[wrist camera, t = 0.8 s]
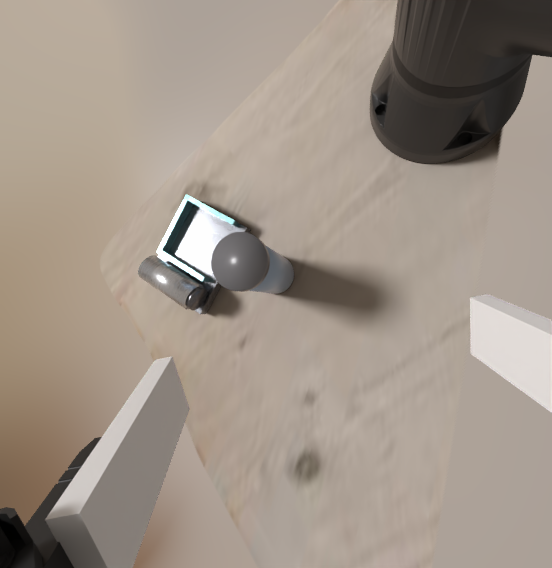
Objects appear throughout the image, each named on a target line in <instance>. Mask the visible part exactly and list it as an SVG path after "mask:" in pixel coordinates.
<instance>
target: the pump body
mask: <svg viewBox="0 0 552 568" xmlns="http://www.w3.org/2000/svg"><path fill="white" fill-rule="evenodd" d="M211 267H212V272H213V275H214V277H215V278H216V280H217V281H218V283H219V284H220V285H222V286H223V287H225V288H226V289H229V290H232V291H241V292H243V291H257V292H265V293H273V294H277V293H281V292H284V291H285V290H287V289H288V288H289V287H290V285H291V284H292V282H293V279H294V269H293V266H292V264H291V263H290V261H289V260H287V259H286V258H285V257H283V256H281V255H280V254H278V253H277V252H275V251H273V250H272V249H270V248H269V247H267V246H265V245H264V243H263V242H262V241H261V240H260V239H258V238H257V237H255V236H253V235H252V234H250V233H246V232H234V233H231V234H228V235H227V236H225V237H224V238H222V239H221V240H220V241H219V243H218V244H217V245H216V247H215V249H214V251H213V254H212V258H211Z"/></svg>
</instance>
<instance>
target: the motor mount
mask: <svg viewBox="0 0 552 568" xmlns="http://www.w3.org/2000/svg"><path fill="white" fill-rule="evenodd" d="M250 231H251V230H250V229H248V228H247V227H245V226H243V225H241V224H239V223H238V222H236V221H235V220H233V219H231V218H229V217H227V216H225V215H224V214H222V213H220V212H218V211H216V210H214V209H213V208H211V207H209V206H207V205H205V204H203V203H201V202H200V201H198V200H196V199H194V198H192V197H190V196H188V195H187V194H186V196H185V198H184V199H183V201H182V203H181V205H180V207H179V209H178V211H177V213H176V215H175V217H174V219H173V221H172V223H171V225H170V227H169V229H168V231H167V233H166V235H165V236H164V238H163V240H162V242H161V244H160V246H159V248H158V250H157V253H158V254H159V256H158V257H157V256H150V257H148V258H146V259H145V260H144V261H143V262H142V263H141V265H140V267H139V270H138V274H139V277H140V278H142V279H143V280H144V281H146V282H147V283H149V284H150V285H152V286H153V287H155V288H156V289H158V290H159V291H161V292H162V293H163V294H165V295H166V296H168V297H169V298H171V299H172V300H174V301H175V302H177V303H178V304H179V305H181V306H182V307H184V308H185V309H191V310H195V311H196V312H198V313H199V314H206V313H207V311H208V309H209V307H210V305H211V304H212V302H213V300H214V298H215V296H216V294H217V292H218V291H219V289H220V287H221V285H220V284H219V283H218V281H217V280H216V278H215V277H214V275H213V272H212V267H211V258H212V254H213V251H214V249H215V247H216V245H217V244H218V243H219V241H220V240H221V239H222V238H224V237H225V236H227V235H228V234H231V233H234V232H246V233H250Z"/></svg>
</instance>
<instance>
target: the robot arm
mask: <svg viewBox="0 0 552 568" xmlns="http://www.w3.org/2000/svg"><path fill="white" fill-rule="evenodd" d="M532 55H540V56H547V57H552V0H398V3H397V11H396V20H395V28H394V37H393V41H392V43H391V45H390V47H389V49H388V51H387V53H386V55H385V57H384V59H383V61H382V63H381V65H380V67H379V69H378V71H377V73H376V75H375V78H374V81H373V85H372V89H371V96H370V119H371V124H372V127H373V129H374V132H375V134H376V136H377V137H378V139H379V140H380V141H381V143H382V144H383V145H384V146H385V147H386V148H387V149H388V150H390V151H391V152H393V153H394V154H396V155H398V156H399V157H402V158H404V159H407V160H410V161H414V162H419V163H442V162H448V161H453V160H456V159H459V158H462V157H464V156H467V155H469V154H471V153H473V152H475V151H477V150H478V149H480V148H481V147H483V146H484V145H485V144H487V143H488V142H489V141H490V140H491V139H493V138H494V137H495V136H496V135H497V133H498V132H499V131H500V130H501V129H502V127H503V126H504V125H505V124H506V122H507V121H508V120H509V119H510V117H511V116H512V114H513V113H514V111H515V110H516V108H517V106H518V104H519V102H520V100H521V97H522V94H523V92H524V88H525V83H526V80H527V75H528V71H529V67H530V62H531V58H532ZM470 331H471V354H472V355H473V356H475V357H476V358H478V359H479V360H480V361H482V362H483V363H484V364H486V365H487V366H488V367H490V368H491V369H493V370H494V371H495V372H497V373H498V374H499V375H501V376H502V377H503V378H505V379H506V380H508V381H509V382H510V383H512V384H513V385H514V386H516V387H517V388H518V389H520V390H521V391H523V392H524V393H525V394H527V395H528V396H530V397H531V398H532V399H534V400H535V401H536V402H538V403H539V404H540V405H542V406H543V407H545V408H546V409H547V410H549V411H550V412H551V413H552V320H550V319H548V318H545V317H543V316H541V315H538V314H536V313H533V312H531V311H528V310H526V309H523V308H521V307H519V306H516V305H513V304H511V303H509V302H506V301H504V300H501V299H499V298H496V297H494V296H491V295H489V294H486V295H480V296H475V297H470ZM189 409H190V408H189V405H188V402H187V399H186V396H185V393H184V390H183V387H182V384H181V381H180V378H179V375H178V372H177V369H176V366H175V363H174V360H173V357H167V358H162V359H157V360H155V361H154V362H153V364H152V365H151V367H150V368H149V370H148V371H147V372H146V374H145V376H144V377H143V378H142V380H141V381H140V383H139V384H138V385H137V387H136V389H135V390H134V391H133V393H132V394H131V396H130V397H129V399H128V400H127V401H126V403H125V404H124V406H123V407H122V409H121V410H120V412H119V413H118V414H117V416H116V417H115V419H114V420H113V422H112V423H111V425H110V426H109V428H108V429H107V430H106V432H105V433H104V435H103V436H102V437H99V438H95V439H94V440H93V441H91V442H90V443H89V444H88V445H87V446H86V447H85V448H84V449H83V450H81V452H79V454H78V455H77V456H76V458H75V459H74V460H73V462H72V463H71V464H70V466H69V467H68V470H67V471H65V473H64V474H63V475H62V477H61V478H60V479H59V483H58V484H56V485H55V486H54V488H53V489H52V490H51V492H50V493H49V494H48V496H47V497H46V498H45V500H44V501H43V502H42V504H41V505H40V506H39V508H38V509H37V511H36V512H35V513H34V515H33V516H32V517H31V519H30V520H29V521H28V523H27V524H26V525H25V526H24V524H23V523H22V521H21V519H20V518H19V516H18V514H17V512H16V511H15V509H13V508H7V507H6V508H2V509H0V568H133V565H134V562H135V559H136V557H137V554H138V551H139V548H140V545H141V542H142V540H143V537H144V534H145V531H146V529H147V526H148V523H149V520H150V517H151V515H152V512H153V509H154V506H155V504H156V501H157V498H158V495H159V493H160V490H161V487H162V484H163V481H164V478H165V476H166V473H167V470H168V467H169V465H170V462H171V459H172V456H173V454H174V451H175V448H176V445H177V442H178V440H179V437H180V434H181V431H182V428H183V426H184V423H185V420H186V417H187V415H188V412H189Z"/></svg>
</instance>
